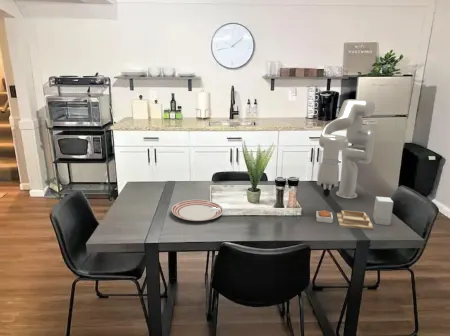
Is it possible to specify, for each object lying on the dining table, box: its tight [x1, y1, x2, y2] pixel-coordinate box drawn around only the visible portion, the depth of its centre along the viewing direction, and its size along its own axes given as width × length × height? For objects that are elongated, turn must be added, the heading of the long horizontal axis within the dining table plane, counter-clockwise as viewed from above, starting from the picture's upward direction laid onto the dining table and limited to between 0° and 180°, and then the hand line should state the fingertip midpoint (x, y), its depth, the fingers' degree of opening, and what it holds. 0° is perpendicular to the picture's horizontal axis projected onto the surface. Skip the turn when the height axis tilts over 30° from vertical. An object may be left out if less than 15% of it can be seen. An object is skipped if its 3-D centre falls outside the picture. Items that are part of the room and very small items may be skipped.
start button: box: [319, 209, 331, 217], centre depth 189 cm, size 5×5×2 cm
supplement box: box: [372, 196, 394, 226], centre depth 187 cm, size 7×7×13 cm
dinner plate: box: [171, 199, 224, 222], centre depth 193 cm, size 27×27×3 cm
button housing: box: [315, 210, 334, 224], centre depth 190 cm, size 8×8×3 cm
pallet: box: [336, 209, 374, 231], centre depth 187 cm, size 16×16×4 cm
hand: (326, 196), depth 186 cm, fingers closed
